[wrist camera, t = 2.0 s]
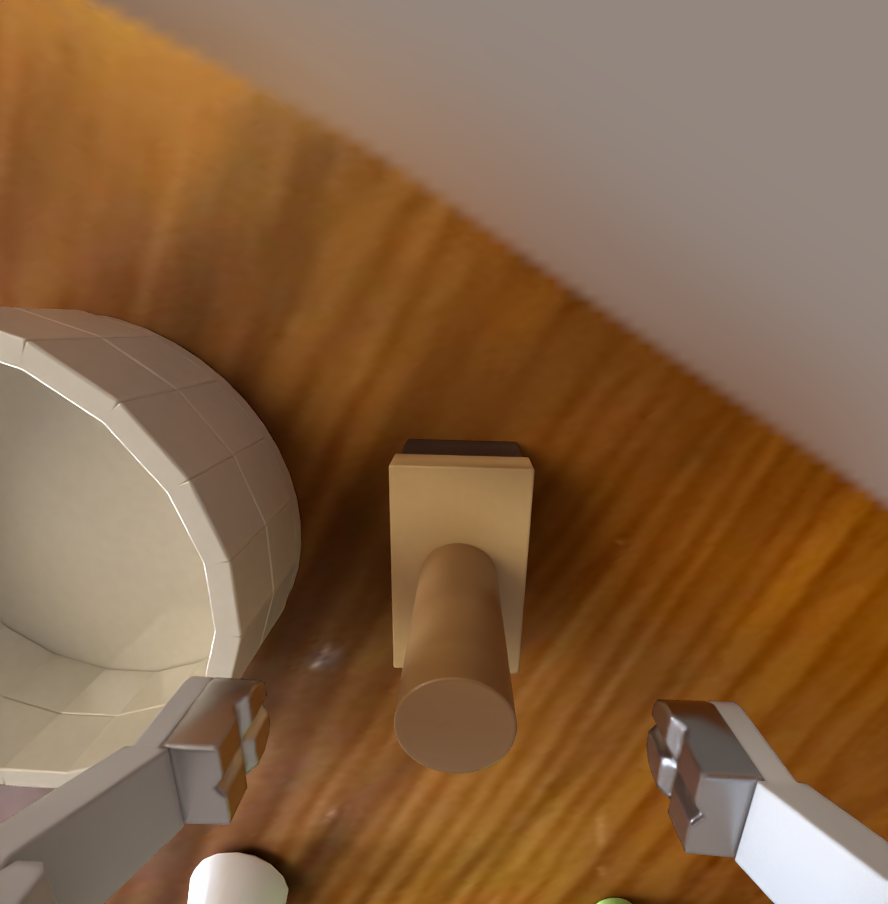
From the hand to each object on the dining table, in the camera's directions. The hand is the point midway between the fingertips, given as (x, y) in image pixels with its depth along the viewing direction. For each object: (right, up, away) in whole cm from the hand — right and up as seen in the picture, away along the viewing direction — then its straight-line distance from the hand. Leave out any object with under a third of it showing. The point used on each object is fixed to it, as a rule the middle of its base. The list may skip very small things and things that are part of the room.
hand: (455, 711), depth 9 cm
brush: (0, +3, +8) cm, 8 cm away
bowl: (-14, +3, +8) cm, 16 cm away
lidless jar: (-11, -17, +14) cm, 25 cm away
